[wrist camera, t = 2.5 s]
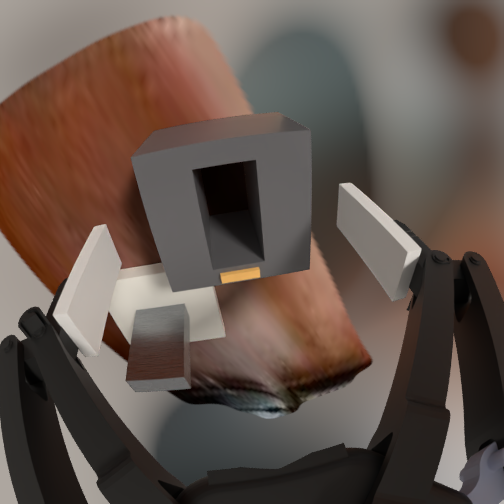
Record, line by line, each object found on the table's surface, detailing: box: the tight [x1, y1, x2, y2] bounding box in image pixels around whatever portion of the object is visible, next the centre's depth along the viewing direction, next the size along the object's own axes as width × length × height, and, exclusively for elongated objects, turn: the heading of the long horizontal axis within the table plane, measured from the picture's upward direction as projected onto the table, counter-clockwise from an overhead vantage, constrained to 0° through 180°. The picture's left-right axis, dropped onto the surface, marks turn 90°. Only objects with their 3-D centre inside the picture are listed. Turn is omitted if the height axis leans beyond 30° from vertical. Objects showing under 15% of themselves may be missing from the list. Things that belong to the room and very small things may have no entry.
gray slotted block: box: [131, 112, 312, 292], centre depth 18 cm, size 9×9×7 cm
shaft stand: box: [109, 263, 226, 392], centre depth 24 cm, size 11×10×10 cm
